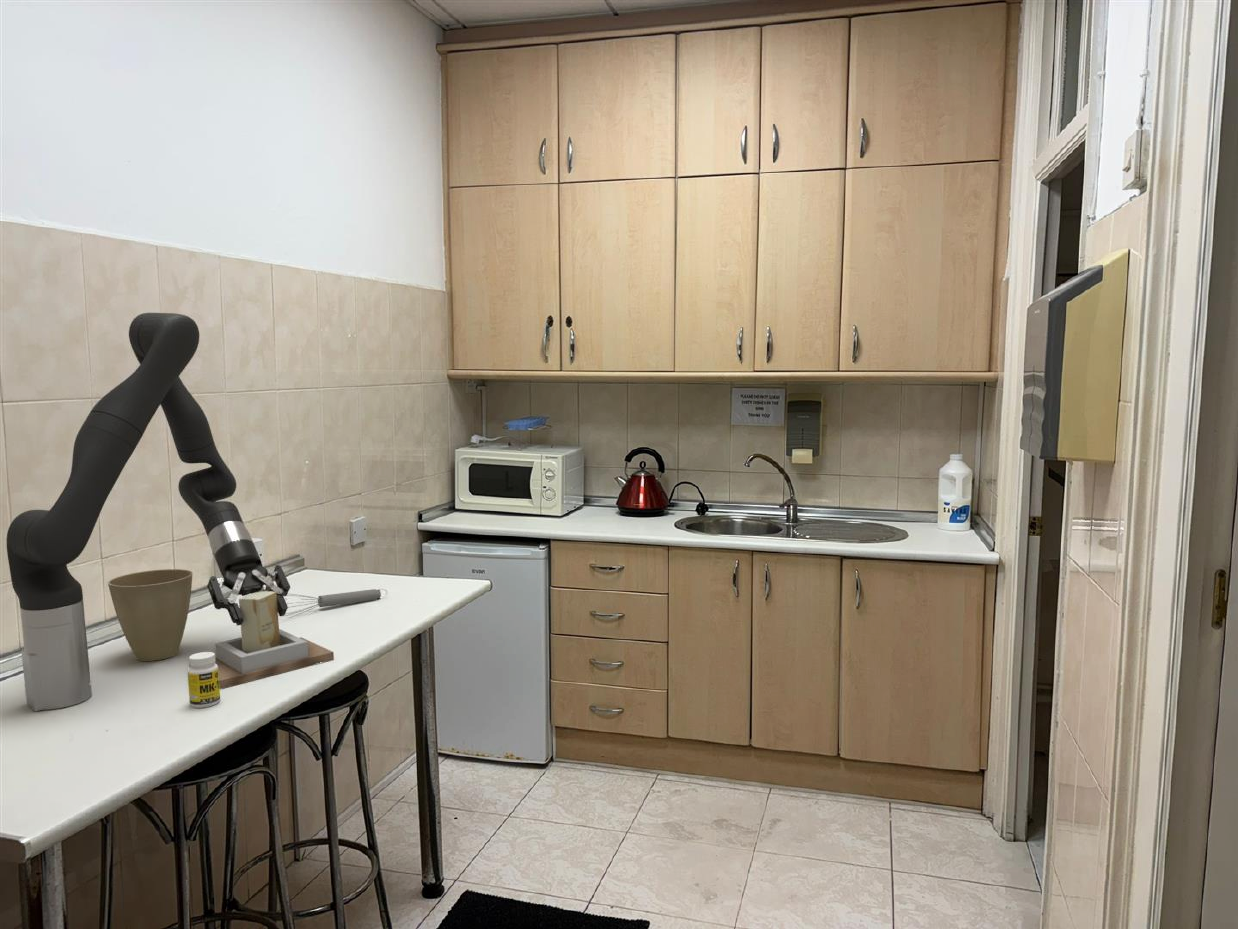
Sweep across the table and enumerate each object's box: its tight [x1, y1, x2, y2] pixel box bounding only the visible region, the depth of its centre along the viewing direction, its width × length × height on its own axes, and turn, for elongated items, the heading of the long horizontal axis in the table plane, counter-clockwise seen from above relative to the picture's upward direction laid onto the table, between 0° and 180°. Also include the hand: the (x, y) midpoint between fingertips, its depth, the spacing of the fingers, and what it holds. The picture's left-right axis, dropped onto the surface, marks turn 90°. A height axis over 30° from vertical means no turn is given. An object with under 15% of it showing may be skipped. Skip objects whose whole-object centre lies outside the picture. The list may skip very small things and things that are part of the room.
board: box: [188, 636, 335, 690], centre depth 175 cm, size 22×14×2 cm, turn 134°
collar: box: [214, 628, 308, 674], centre depth 175 cm, size 12×12×3 cm
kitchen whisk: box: [278, 588, 388, 619], centre depth 213 cm, size 6×34×6 cm, turn 130°
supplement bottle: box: [187, 651, 221, 709], centre depth 156 cm, size 5×5×8 cm
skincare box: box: [238, 591, 280, 654], centre depth 175 cm, size 6×4×12 cm
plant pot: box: [107, 568, 194, 662], centre depth 182 cm, size 15×15×16 cm
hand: (262, 618), depth 173 cm, fingers open, 7 cm apart
